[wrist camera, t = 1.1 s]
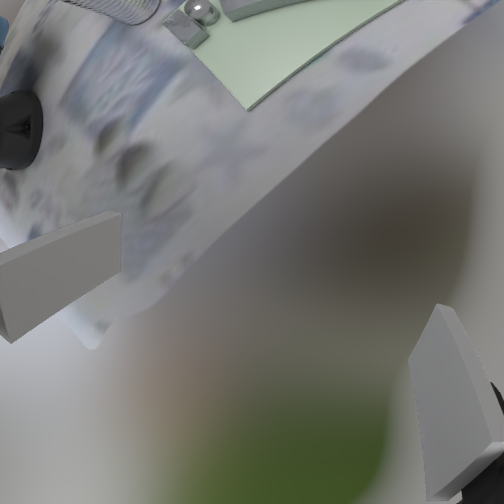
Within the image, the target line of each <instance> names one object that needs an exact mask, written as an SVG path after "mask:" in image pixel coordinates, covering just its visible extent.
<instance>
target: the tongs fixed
mask: <svg viewBox="0 0 504 504" xmlns="http://www.w3.org/2000/svg"><path fill="white" fill-rule="evenodd" d="M184 11H185V13H184V12H183V11H181V10H180V9H177V10H176V11H175V12H174V13H173V14H172V15H171V16H170V17H169V18H168V19H167V20H166V21H165V22H164V23H163V25H164V26H165V27H167V28H168V29H169V30H170V31H171V32H172V33H173V34H174V35H175V36H176V37H177V38H178V39H179V40H180V41H181V42H182V43H183V44H184V45H186V46H187V47H189V48H191V49H193V50H194V49H195V48H196V47H197V46H198V45H199V44H200V43H201V42H202V41H203V40H204V39H205V38H207V37H208V36H209V34H208V33H207V32H206V31H205V30H204V29H202V28H201V27H200V26H199V25H198V24H197V23H196V22H195V21H197V22H198V23H199V24H201V25H202V26H211V25H214V24H215V23H216V22H217V21H218V20H219V18H220V12H219V10H218V9H217V8H216V7H215V6H214V5H213V4H212V3H211V2H209V1H208V0H188V1H187V2H186V3H185V6H184ZM189 16H190V17H191V18H190V17H189ZM192 18H193V19H194V20H195V21H194V20H193V19H192Z"/></svg>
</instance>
